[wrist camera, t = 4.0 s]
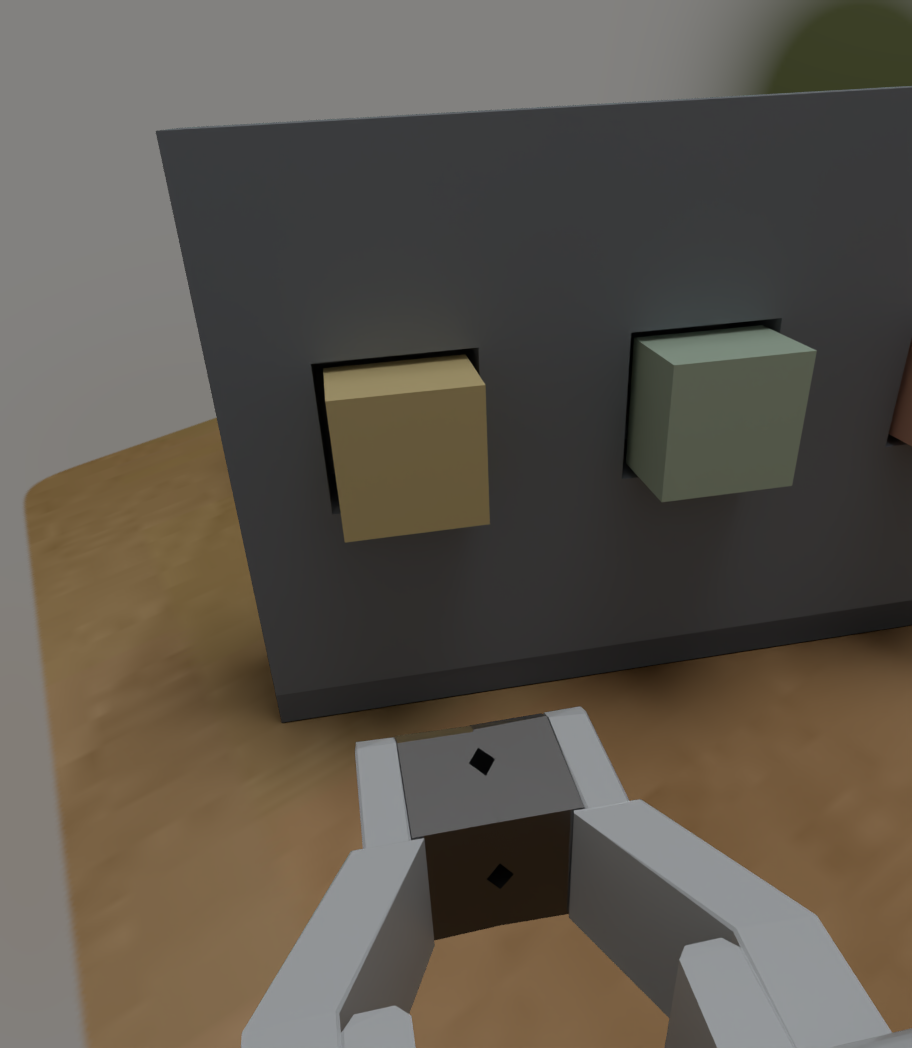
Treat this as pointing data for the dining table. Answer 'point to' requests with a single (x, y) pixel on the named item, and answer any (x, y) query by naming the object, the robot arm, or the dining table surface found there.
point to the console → (554, 376)
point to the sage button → (717, 411)
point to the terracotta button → (904, 405)
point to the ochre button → (408, 446)
